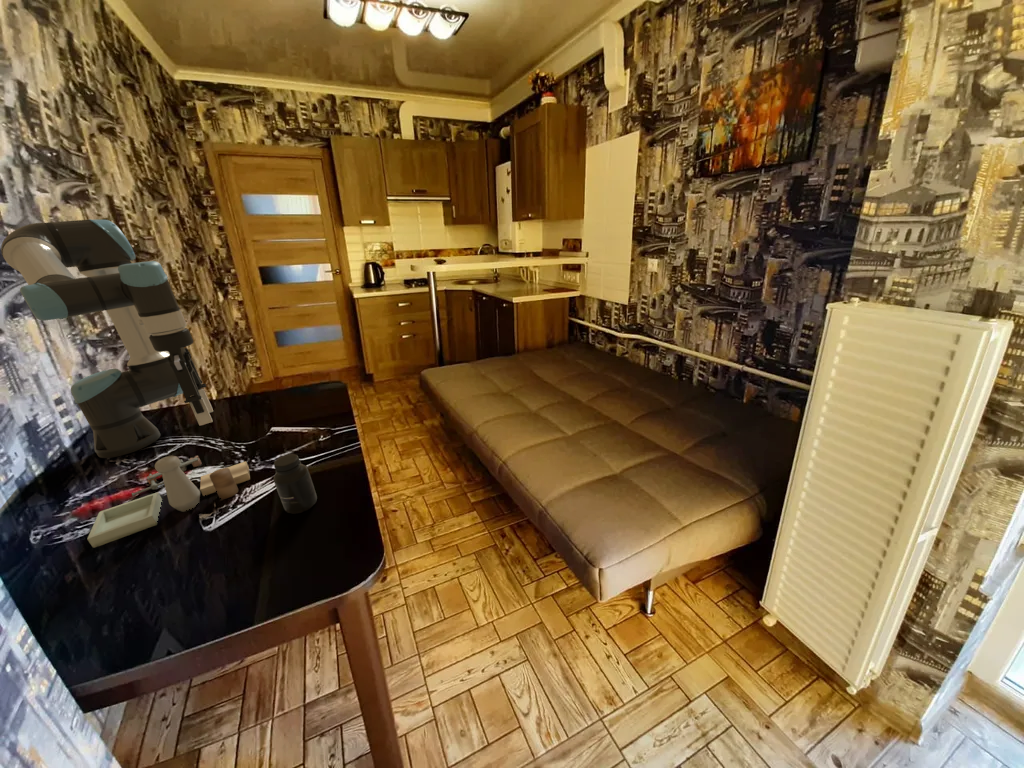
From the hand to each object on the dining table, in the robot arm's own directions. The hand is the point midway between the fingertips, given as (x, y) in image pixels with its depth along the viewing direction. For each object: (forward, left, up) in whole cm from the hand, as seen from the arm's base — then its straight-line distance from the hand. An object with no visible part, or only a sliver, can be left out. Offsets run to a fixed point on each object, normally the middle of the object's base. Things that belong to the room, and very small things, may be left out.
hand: (206, 417), depth 103 cm
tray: (+12, -19, -15) cm, 27 cm away
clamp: (-7, -14, -16) cm, 22 cm away
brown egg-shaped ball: (+15, 0, -15) cm, 21 cm away
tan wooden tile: (+8, 0, -16) cm, 17 cm away
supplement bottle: (+32, +14, -15) cm, 38 cm away
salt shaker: (+14, -8, -15) cm, 22 cm away
